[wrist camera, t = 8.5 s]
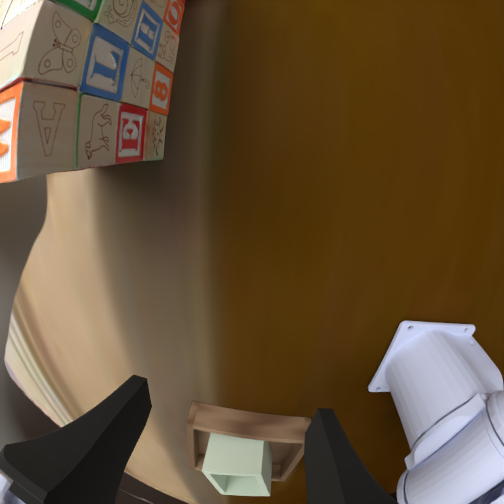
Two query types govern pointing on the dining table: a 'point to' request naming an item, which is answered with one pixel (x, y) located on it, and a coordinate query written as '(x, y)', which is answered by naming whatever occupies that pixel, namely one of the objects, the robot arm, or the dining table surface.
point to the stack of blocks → (84, 83)
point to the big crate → (247, 434)
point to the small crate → (238, 465)
